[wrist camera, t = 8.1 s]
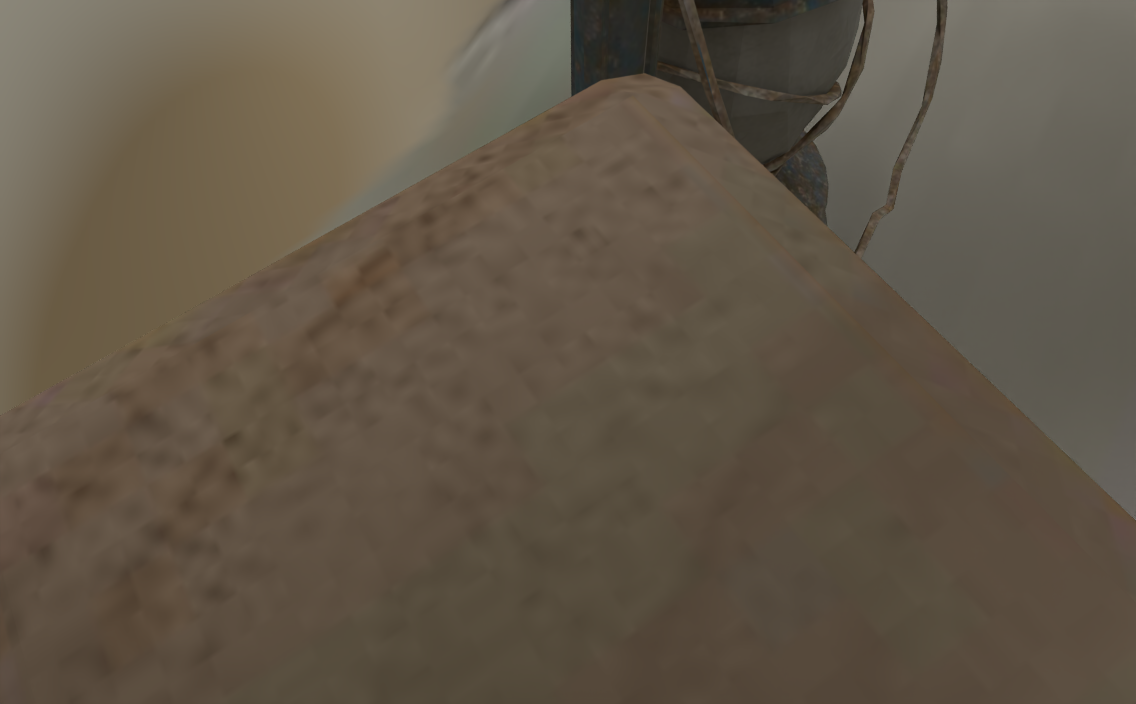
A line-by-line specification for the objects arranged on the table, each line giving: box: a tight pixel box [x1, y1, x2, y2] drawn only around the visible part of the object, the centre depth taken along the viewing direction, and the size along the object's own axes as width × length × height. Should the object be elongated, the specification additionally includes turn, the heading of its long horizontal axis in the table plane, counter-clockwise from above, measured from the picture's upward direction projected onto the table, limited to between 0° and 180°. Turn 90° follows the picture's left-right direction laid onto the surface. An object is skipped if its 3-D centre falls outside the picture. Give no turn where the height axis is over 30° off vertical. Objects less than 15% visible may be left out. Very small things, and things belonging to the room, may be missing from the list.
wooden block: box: [0, 73, 1136, 704], centre depth 15 cm, size 10×10×20 cm
